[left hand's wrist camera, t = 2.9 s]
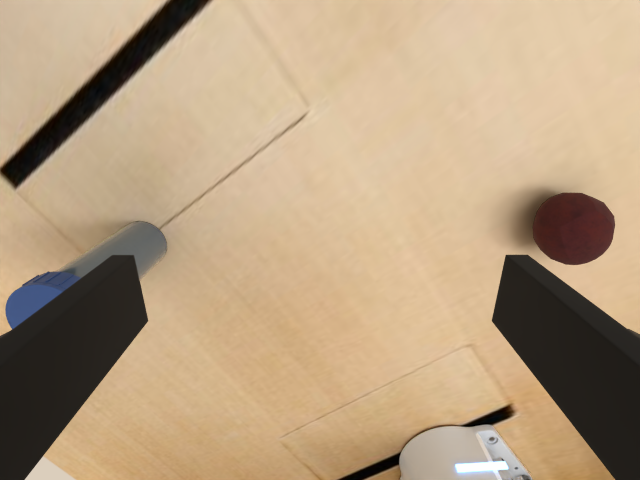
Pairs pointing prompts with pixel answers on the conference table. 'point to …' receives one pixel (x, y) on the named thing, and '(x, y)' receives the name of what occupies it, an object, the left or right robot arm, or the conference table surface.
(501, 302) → the left robot arm
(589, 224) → the dark red plum
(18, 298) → the lid
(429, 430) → the right robot arm
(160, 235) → the jar
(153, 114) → the conference table surface
